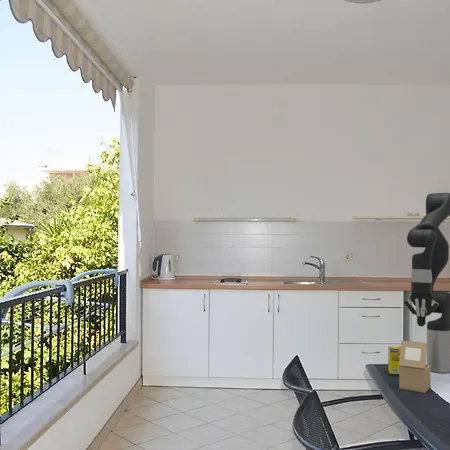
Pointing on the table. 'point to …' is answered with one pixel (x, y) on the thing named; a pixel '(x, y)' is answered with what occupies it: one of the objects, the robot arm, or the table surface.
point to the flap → (413, 354)
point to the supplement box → (393, 360)
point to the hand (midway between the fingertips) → (421, 326)
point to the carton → (414, 378)
